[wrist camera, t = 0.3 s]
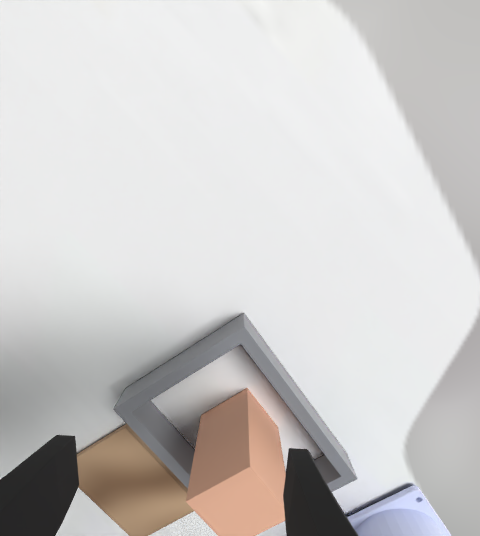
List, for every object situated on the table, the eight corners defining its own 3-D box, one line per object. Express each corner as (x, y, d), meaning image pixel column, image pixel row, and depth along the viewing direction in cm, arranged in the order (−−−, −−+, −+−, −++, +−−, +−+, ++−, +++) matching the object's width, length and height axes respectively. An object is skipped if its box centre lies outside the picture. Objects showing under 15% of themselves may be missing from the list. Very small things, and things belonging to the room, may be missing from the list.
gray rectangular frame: (346, 453, 21) (357, 478, 19) (236, 510, 23) (236, 540, 21) (244, 312, 19) (244, 326, 17) (125, 388, 20) (113, 409, 18)
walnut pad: (200, 502, 22) (200, 507, 22) (137, 536, 23) (136, 541, 23) (126, 423, 21) (124, 427, 20) (61, 463, 22) (58, 468, 21)
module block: (277, 427, 21) (292, 516, 15) (232, 452, 21) (230, 548, 16) (247, 387, 20) (250, 466, 14) (201, 415, 21) (185, 501, 15)
